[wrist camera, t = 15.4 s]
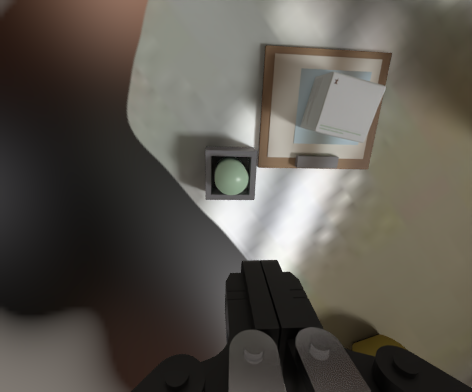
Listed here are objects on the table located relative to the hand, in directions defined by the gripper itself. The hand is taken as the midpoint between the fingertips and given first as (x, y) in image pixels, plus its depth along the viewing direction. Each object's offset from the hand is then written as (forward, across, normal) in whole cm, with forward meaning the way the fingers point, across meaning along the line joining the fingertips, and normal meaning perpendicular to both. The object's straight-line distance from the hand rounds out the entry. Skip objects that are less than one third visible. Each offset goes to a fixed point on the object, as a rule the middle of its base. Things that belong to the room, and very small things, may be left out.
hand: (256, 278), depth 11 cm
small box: (+20, -11, -8) cm, 25 cm away
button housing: (+21, 0, 0) cm, 21 cm away
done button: (+21, 0, 0) cm, 21 cm away
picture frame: (+21, -10, -7) cm, 24 cm away
